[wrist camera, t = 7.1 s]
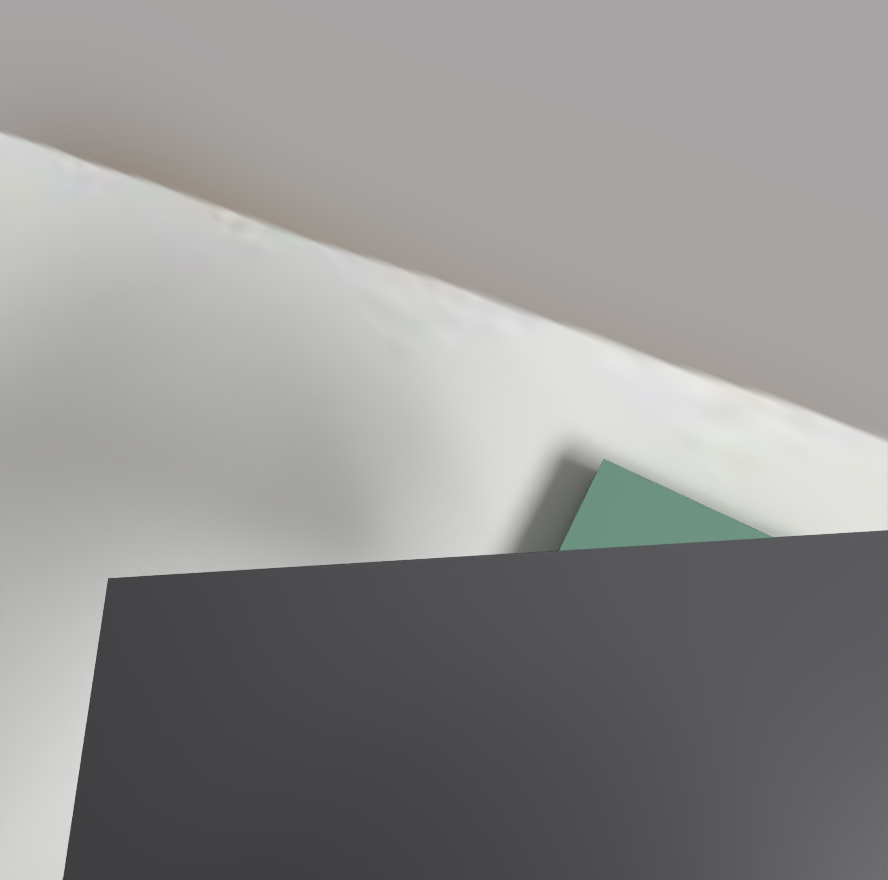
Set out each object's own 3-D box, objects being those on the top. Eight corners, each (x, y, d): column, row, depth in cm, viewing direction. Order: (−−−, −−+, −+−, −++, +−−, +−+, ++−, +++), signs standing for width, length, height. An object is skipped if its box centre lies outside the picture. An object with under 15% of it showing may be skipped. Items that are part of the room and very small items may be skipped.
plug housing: (629, 787, 13) (1474, 1847, 2) (422, 791, 14) (-53, 1660, 2) (605, 612, 15) (983, 523, 3) (417, 622, 15) (106, 578, 3)
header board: (713, 1004, 17) (771, 1108, 13) (431, 812, 20) (413, 855, 16) (854, 590, 20) (932, 580, 17) (597, 469, 23) (615, 437, 19)
